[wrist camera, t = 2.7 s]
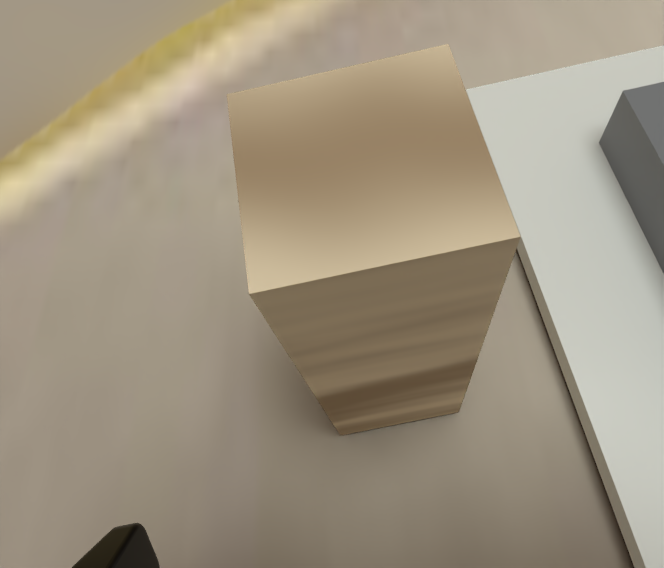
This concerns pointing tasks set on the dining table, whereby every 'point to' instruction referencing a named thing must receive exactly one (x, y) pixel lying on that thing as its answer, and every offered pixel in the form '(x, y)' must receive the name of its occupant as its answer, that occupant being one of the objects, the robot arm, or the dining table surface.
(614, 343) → the socket block
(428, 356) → the keyed peg
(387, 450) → the dining table surface
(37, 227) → the dining table surface
